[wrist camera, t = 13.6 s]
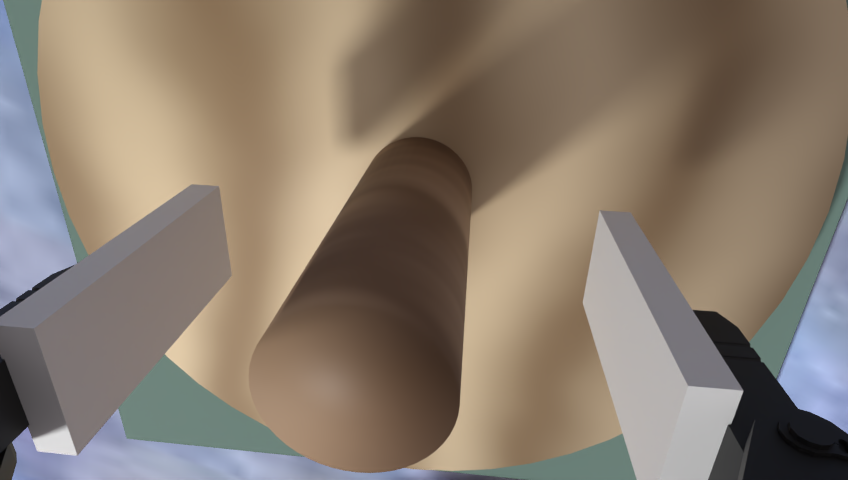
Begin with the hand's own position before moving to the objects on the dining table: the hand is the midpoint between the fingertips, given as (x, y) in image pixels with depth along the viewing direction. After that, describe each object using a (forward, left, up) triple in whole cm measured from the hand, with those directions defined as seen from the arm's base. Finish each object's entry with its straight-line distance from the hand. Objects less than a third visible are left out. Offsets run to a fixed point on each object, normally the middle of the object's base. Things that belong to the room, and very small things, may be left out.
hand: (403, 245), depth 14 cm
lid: (0, 0, -5) cm, 5 cm away
